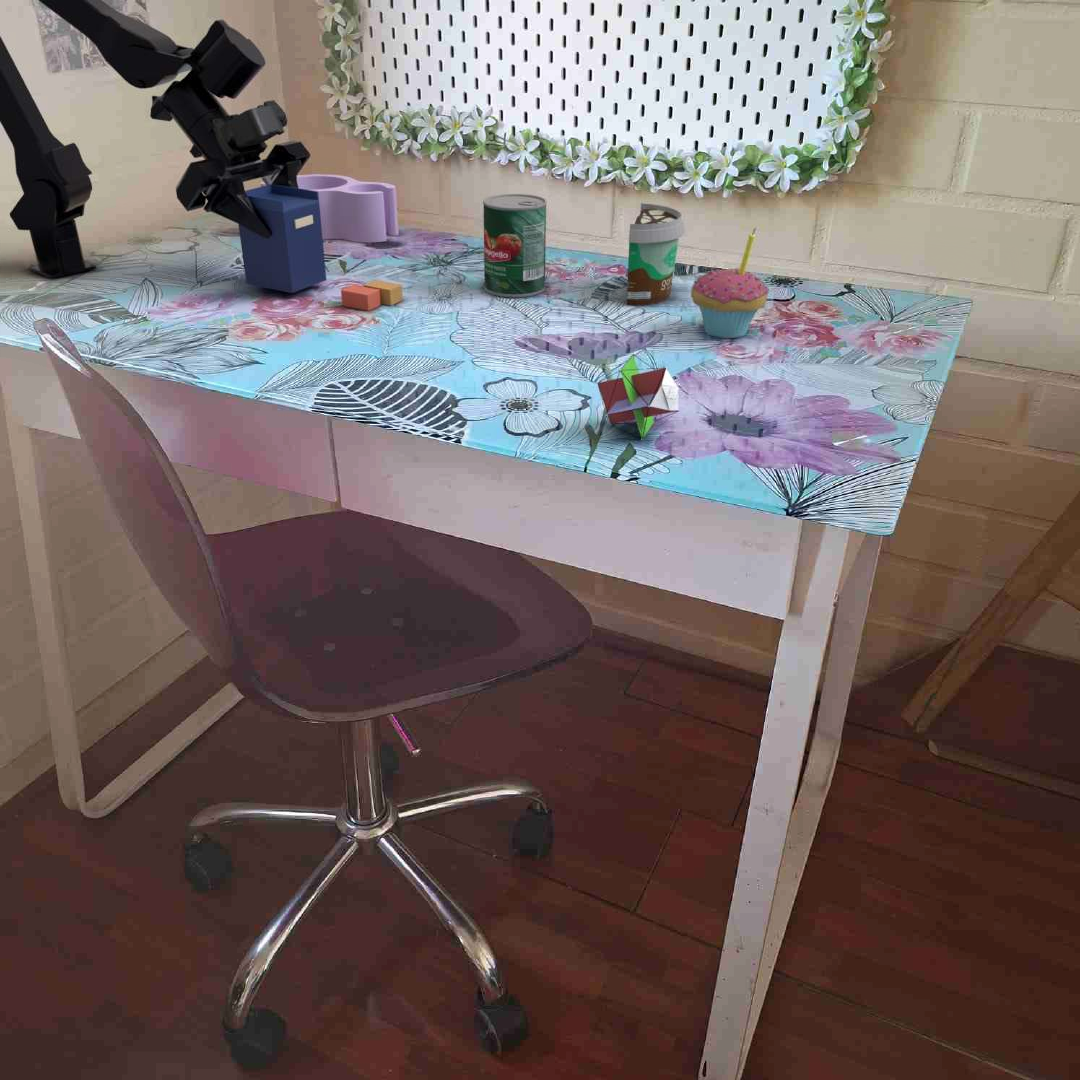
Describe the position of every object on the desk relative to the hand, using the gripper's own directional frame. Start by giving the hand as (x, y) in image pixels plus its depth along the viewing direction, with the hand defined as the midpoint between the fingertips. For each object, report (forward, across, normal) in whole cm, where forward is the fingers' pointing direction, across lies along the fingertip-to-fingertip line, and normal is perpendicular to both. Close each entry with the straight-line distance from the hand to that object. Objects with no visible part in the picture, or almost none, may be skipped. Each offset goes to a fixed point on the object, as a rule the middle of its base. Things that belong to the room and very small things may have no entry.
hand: (288, 230), depth 122 cm
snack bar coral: (+12, -1, -4) cm, 12 cm away
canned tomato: (+22, +15, -11) cm, 29 cm away
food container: (+34, +22, -23) cm, 46 cm away
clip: (-5, +26, +16) cm, 31 cm away
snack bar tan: (+12, +2, -5) cm, 13 cm away
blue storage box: (+4, 0, +6) cm, 7 cm away
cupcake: (+43, +13, -32) cm, 55 cm away
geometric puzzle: (+44, -17, -33) cm, 58 cm away
